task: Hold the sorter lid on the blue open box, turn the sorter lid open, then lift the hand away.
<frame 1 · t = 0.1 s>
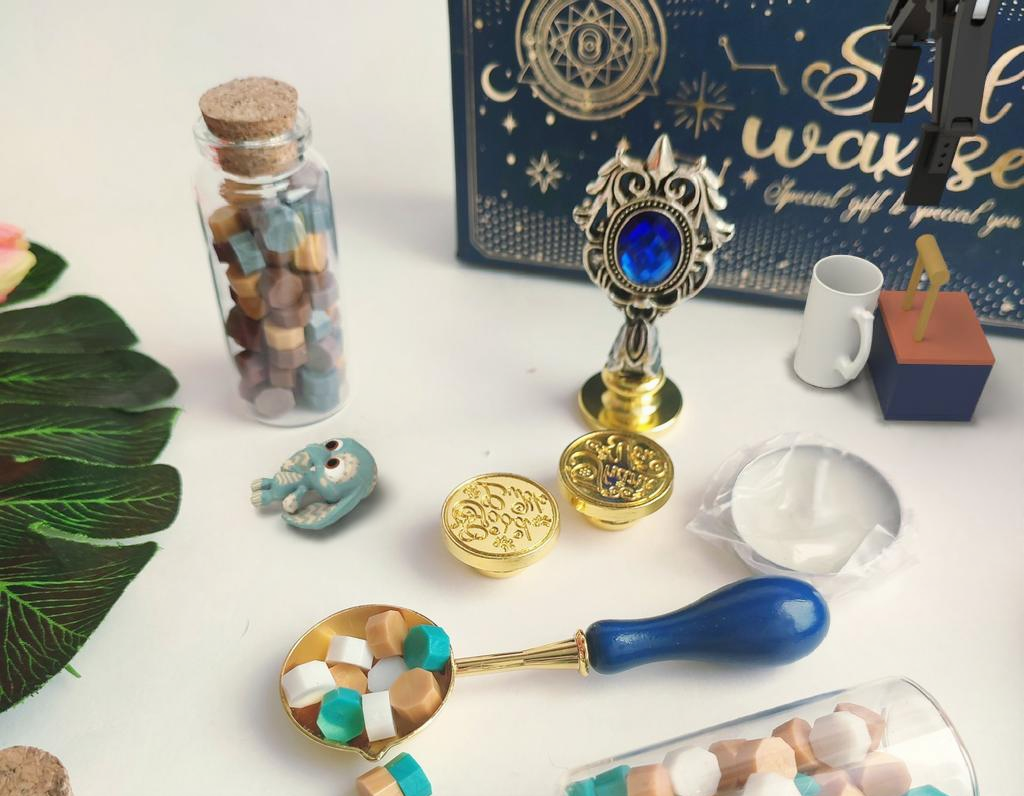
hand: (902, 160, 91), 27 cm above the table, tool pointing down, fingers open, 13 cm apart
mug: (828, 380, 113), on the table
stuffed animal: (317, 499, 102), on the table
blue open box: (915, 385, 112), on the table
sorter lid: (945, 292, 104), point 12 cm above the table, hinge at 0.0°
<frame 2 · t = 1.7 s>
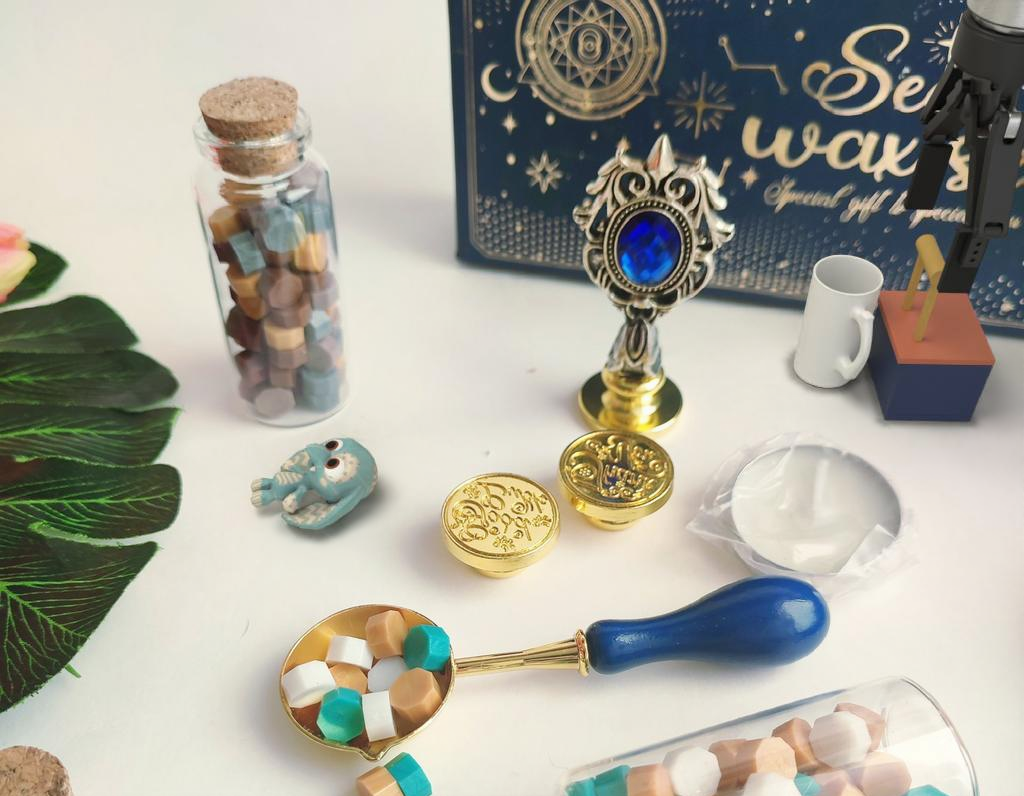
hand: (934, 247, 100), 17 cm above the table, tool pointing down, fingers open, 13 cm apart
nothing on the table moved.
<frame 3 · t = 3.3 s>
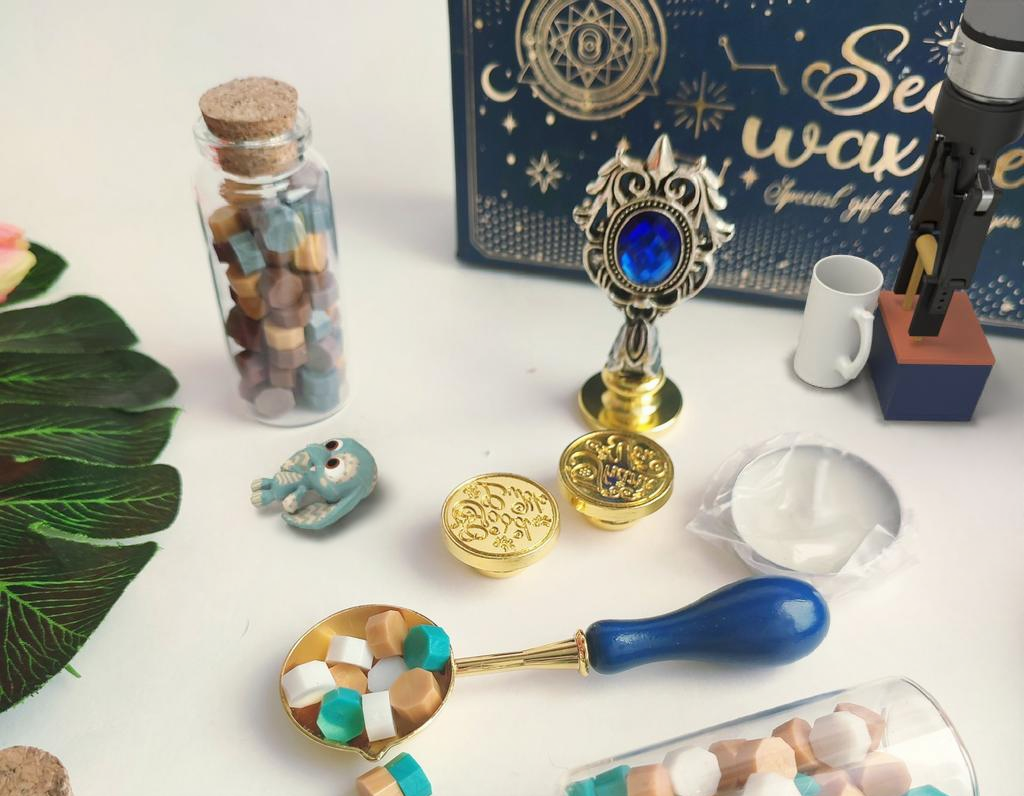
hand: (915, 312, 106), 9 cm above the table, tool pointing down, fingers closed on sorter lid, 6 cm apart
sorter lid: (945, 292, 104), point 12 cm above the table, hinge at 0.0°, touching gripper
everything else where it was.
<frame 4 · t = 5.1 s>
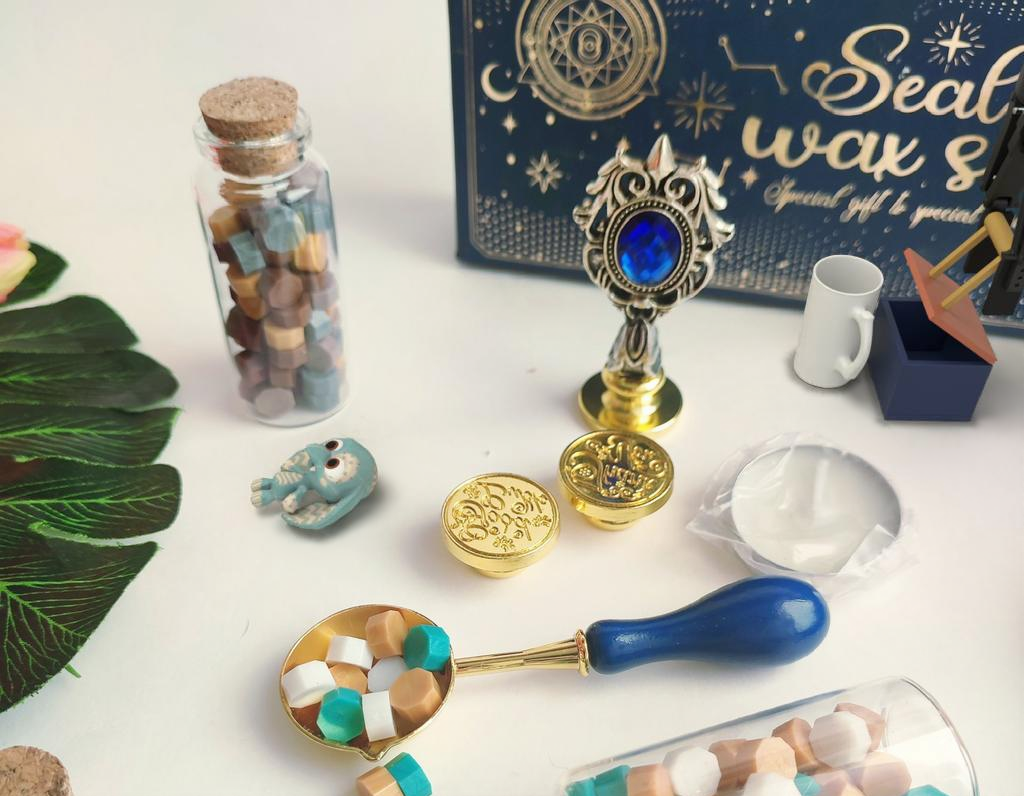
hand: (987, 291, 104), 12 cm above the table, tool pointing down, fingers closed on sorter lid, 6 cm apart
sorter lid: (985, 276, 102), point 14 cm above the table, hinge at 35.3°, touching gripper
everything else where it was.
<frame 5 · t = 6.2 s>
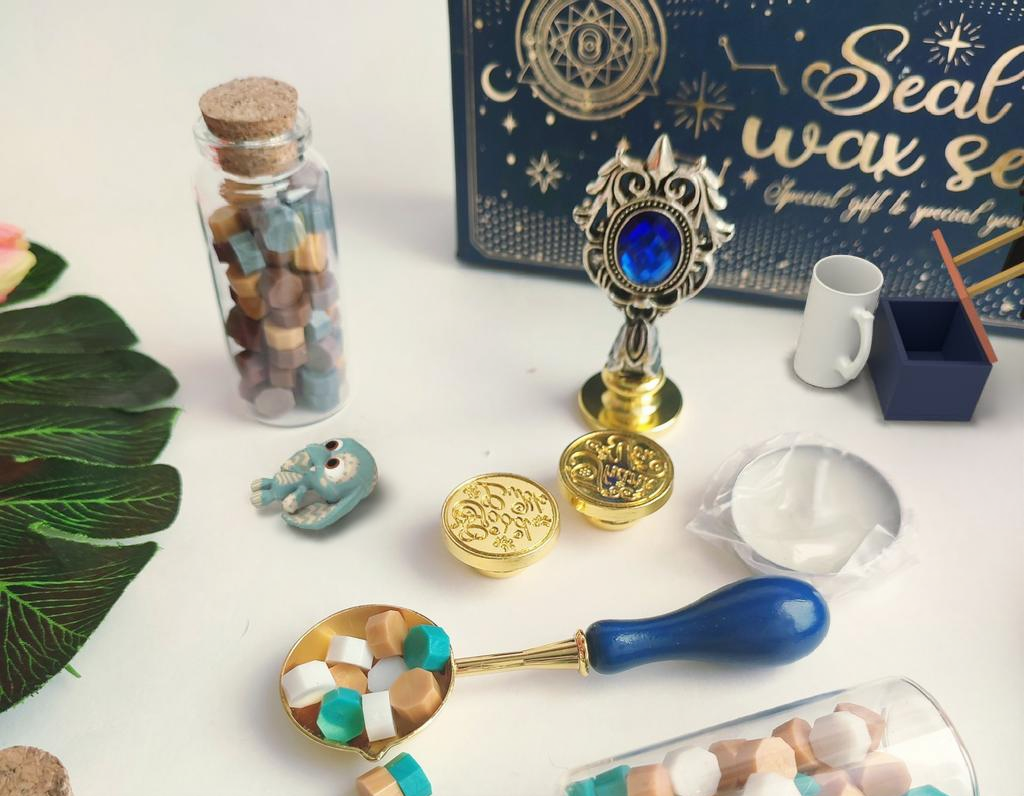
sorter lid: (1008, 275, 102), point 14 cm above the table, hinge at 55.4°, touching gripper
everything else where it was.
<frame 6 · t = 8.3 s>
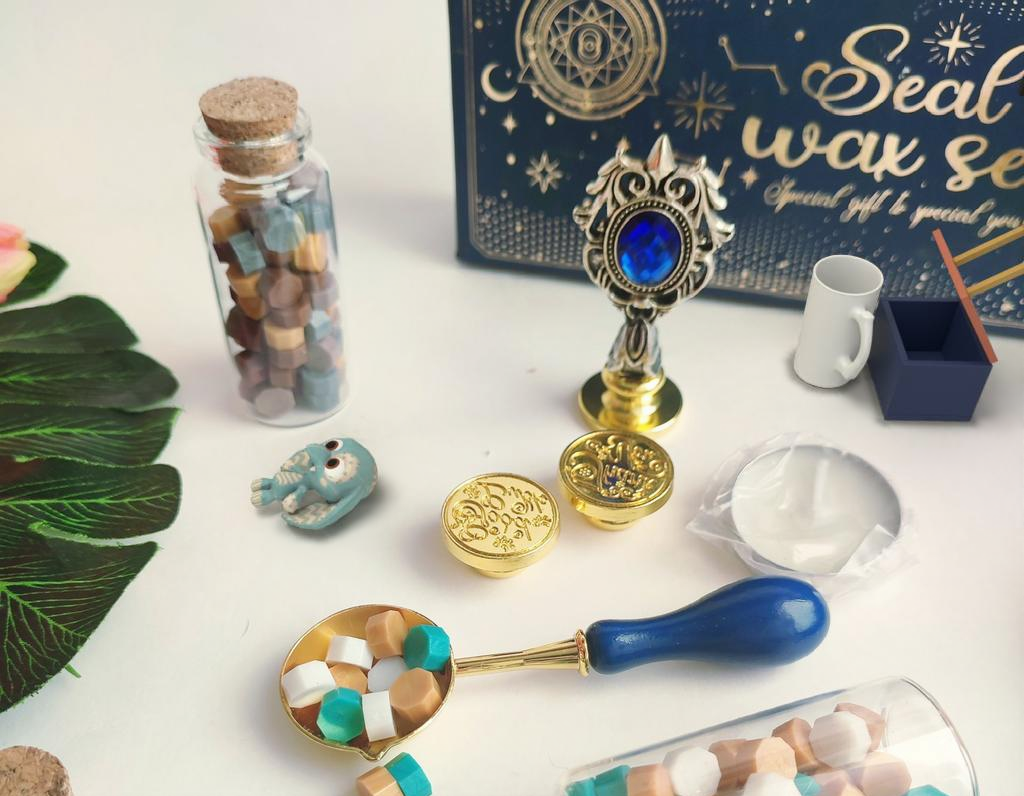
sorter lid: (1008, 275, 102), point 14 cm above the table, hinge at 55.5°
everything else where it was.
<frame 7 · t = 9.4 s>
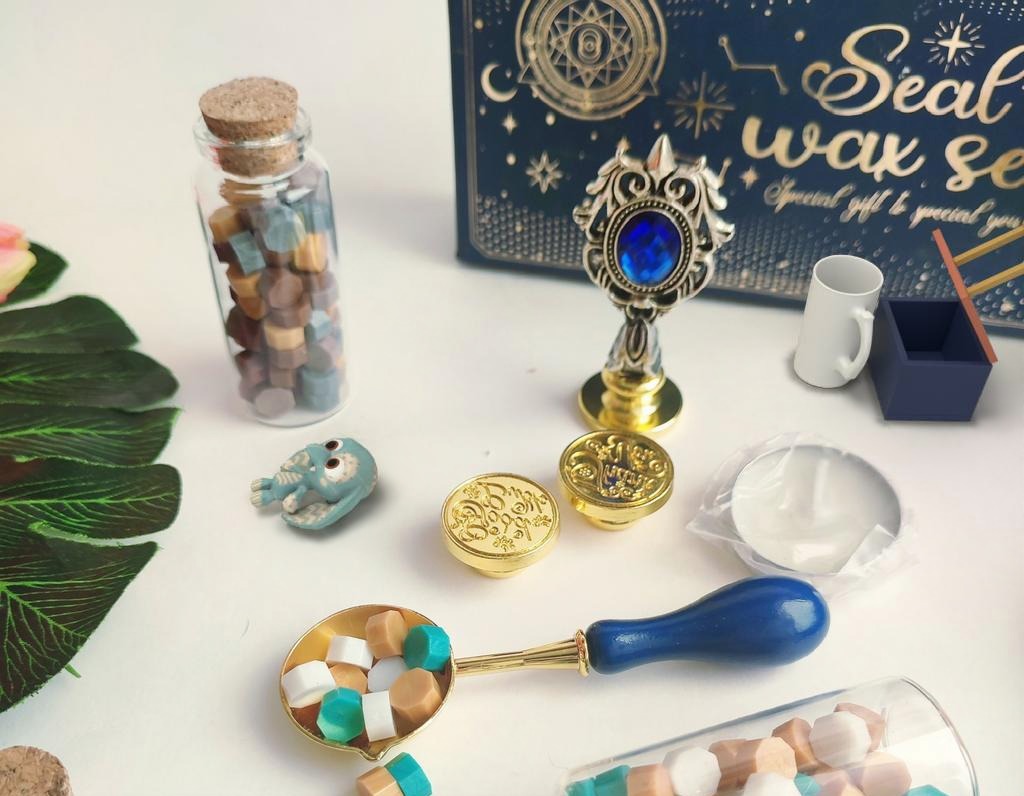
nothing on the table moved.
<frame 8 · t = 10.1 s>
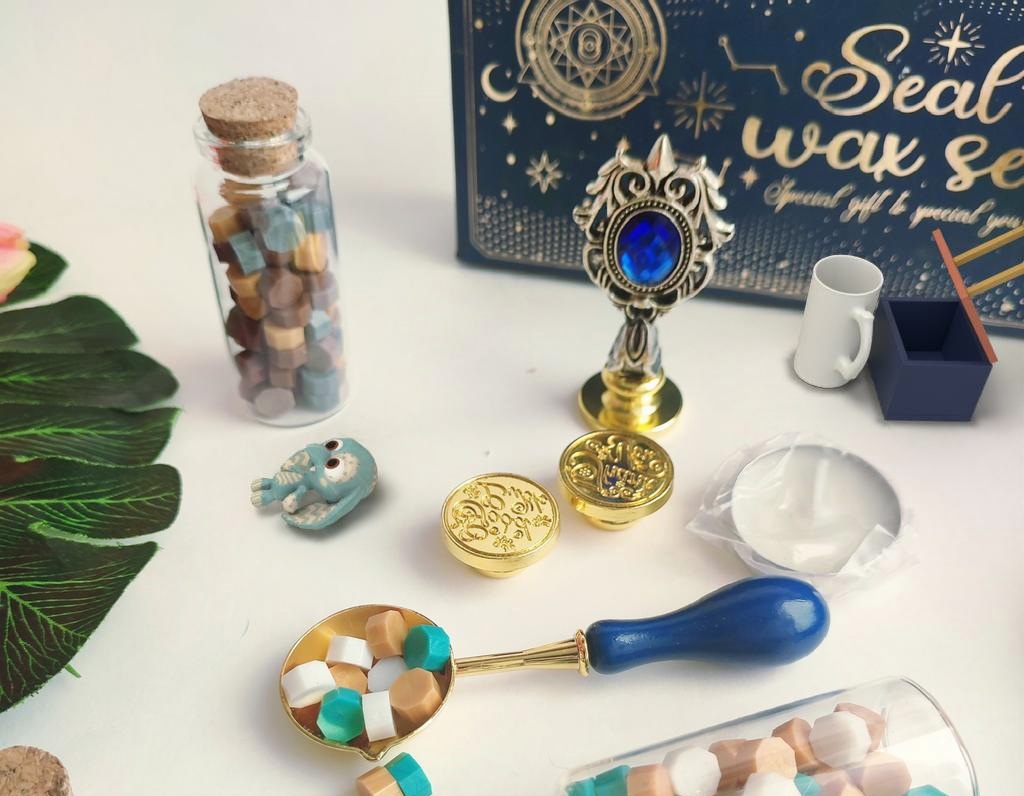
nothing on the table moved.
at the end: sorter lid at +56° (first picture: +0°); mug moved 0.2 cm from its start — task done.
